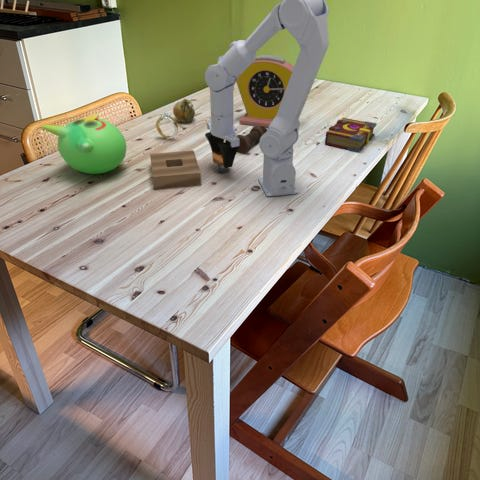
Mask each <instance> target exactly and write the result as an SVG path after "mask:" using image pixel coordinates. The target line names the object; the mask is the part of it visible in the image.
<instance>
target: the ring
mask: <svg viewBox="0 0 480 480" xmlns="http://www.w3.org/2000/svg"><path fill="white" fill-rule="evenodd" d="M163 120H168V121H169V122H171V123H172V125H173V128H174V132H173V134H172V135H170V134H169V135H166V134H165V133H164V132H163V131H162V129H161V127H160V123H161V122H162V121H163ZM155 128H156V130H157V133H158V134H159V135H160V136H161V137H162V138H163V139H166V140H168V141H169V140H172V139H174V138H175V137H176V136H177V134H178V133H179V125H178V122H177V121H176V119H175V117H174V118H173V117H172V116H171V114H168V113H163V114H160V117H159V118H158V119H157V120H156V122H155Z"/></svg>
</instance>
